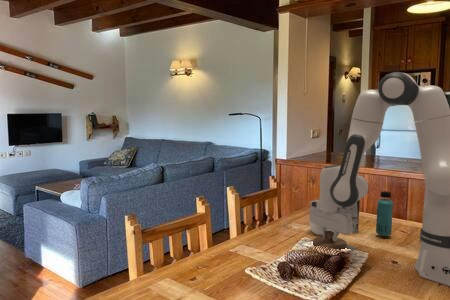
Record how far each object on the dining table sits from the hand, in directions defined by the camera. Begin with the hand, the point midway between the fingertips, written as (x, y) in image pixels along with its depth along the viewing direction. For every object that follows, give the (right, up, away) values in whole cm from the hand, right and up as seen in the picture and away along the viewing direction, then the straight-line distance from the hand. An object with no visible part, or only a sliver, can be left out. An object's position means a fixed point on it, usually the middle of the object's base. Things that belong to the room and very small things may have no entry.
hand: (329, 239), depth 152 cm
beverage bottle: (+27, -2, +13) cm, 30 cm away
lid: (0, -2, 0) cm, 2 cm away
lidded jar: (+1, -2, +16) cm, 16 cm away
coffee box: (+15, -1, +22) cm, 27 cm away
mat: (0, -4, +1) cm, 4 cm away
